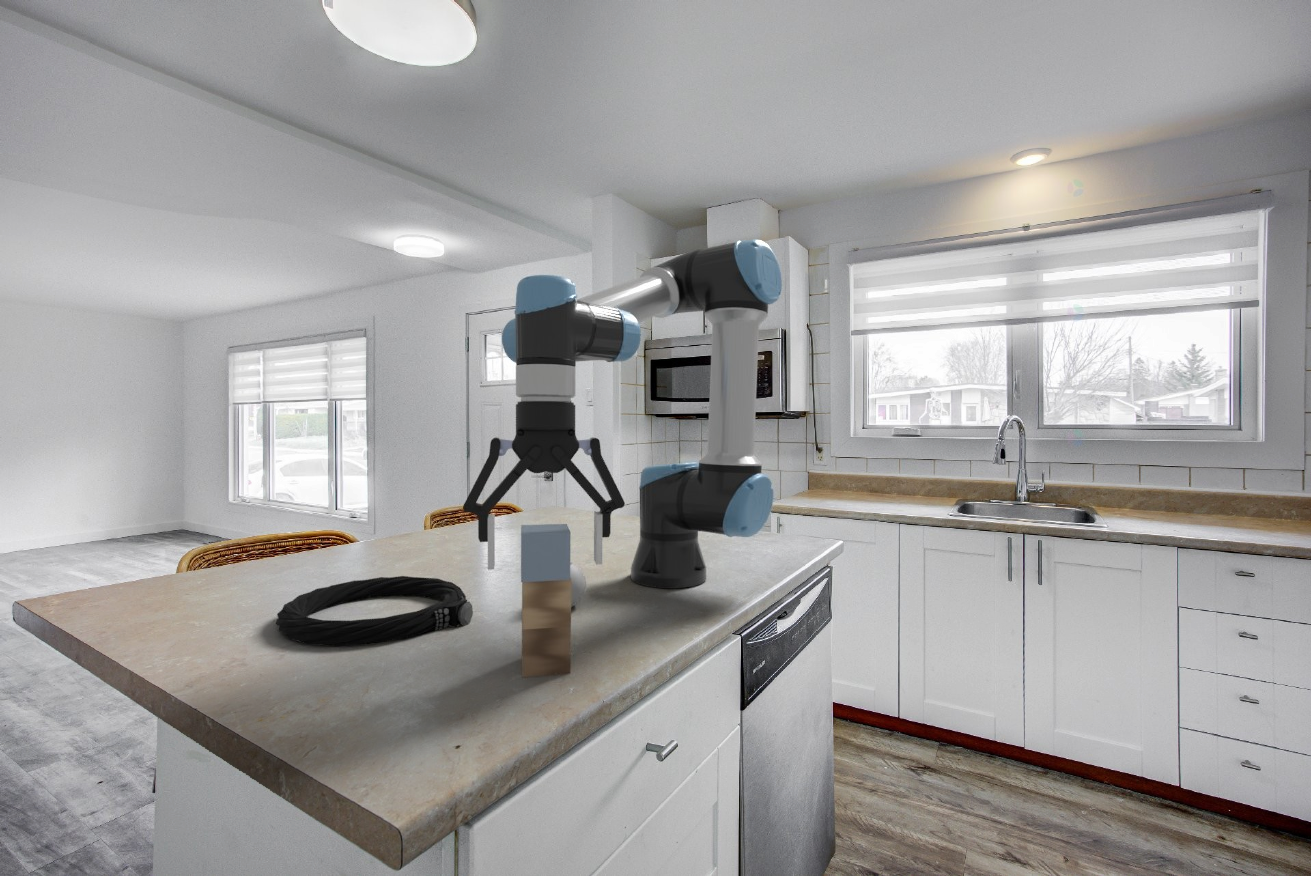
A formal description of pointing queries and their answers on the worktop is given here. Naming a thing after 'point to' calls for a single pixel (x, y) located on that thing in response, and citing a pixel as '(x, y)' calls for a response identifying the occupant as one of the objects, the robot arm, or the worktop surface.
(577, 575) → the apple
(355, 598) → the ring
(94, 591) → the worktop surface
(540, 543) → the slate block
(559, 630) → the tower lower block
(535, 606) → the tower upper block
